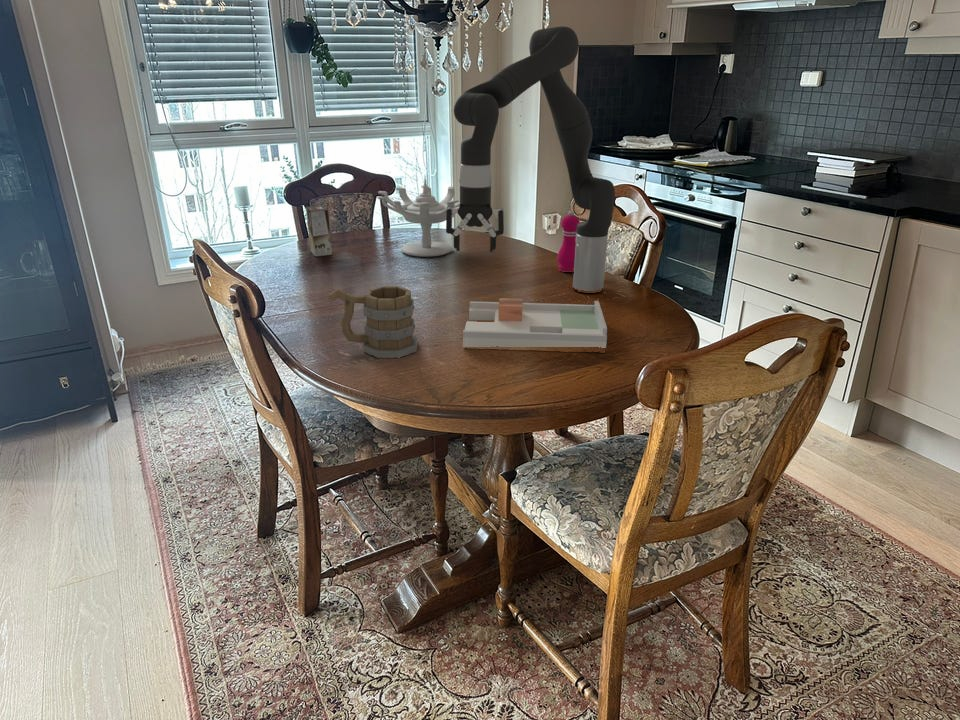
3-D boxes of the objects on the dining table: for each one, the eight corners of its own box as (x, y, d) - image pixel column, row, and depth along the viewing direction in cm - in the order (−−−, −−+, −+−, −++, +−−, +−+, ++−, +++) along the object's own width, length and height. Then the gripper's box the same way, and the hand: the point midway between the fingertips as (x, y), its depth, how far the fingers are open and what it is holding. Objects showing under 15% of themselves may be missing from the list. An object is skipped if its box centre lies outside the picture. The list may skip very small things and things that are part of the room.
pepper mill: (561, 274, 215) (565, 213, 207) (553, 268, 221) (556, 208, 213) (581, 273, 217) (586, 212, 208) (573, 267, 223) (577, 207, 215)
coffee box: (332, 254, 235) (328, 209, 228) (314, 256, 232) (310, 211, 226) (326, 248, 242) (322, 205, 236) (309, 250, 240) (304, 206, 233)
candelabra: (383, 267, 221) (378, 184, 210) (377, 242, 252) (373, 169, 241) (482, 262, 227) (482, 182, 216) (464, 238, 259) (464, 167, 247)
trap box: (470, 317, 178) (470, 296, 175) (596, 320, 176) (598, 299, 173) (462, 349, 158) (462, 325, 155) (605, 353, 156) (607, 330, 153)
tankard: (418, 337, 164) (416, 280, 158) (415, 358, 152) (413, 297, 146) (338, 338, 163) (333, 280, 157) (329, 358, 152) (323, 297, 146)
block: (499, 312, 172) (499, 298, 171) (522, 313, 172) (522, 298, 170) (498, 320, 167) (498, 305, 165) (521, 321, 167) (522, 306, 165)
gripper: (505, 181, 159) (503, 247, 166) (447, 180, 160) (447, 246, 166) (505, 186, 152) (503, 255, 159) (443, 185, 153) (444, 254, 160)
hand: (474, 250), depth 163 cm, fingers open, 8 cm apart
